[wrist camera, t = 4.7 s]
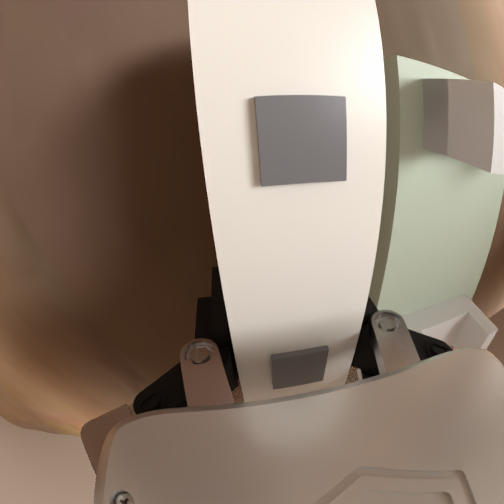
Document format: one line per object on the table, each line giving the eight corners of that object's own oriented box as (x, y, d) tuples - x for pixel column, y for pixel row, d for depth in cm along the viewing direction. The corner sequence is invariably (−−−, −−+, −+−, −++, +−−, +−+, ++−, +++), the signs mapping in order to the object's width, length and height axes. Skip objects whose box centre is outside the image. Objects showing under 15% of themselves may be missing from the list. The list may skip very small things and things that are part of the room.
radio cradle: (495, 96, 12) (559, 112, 6) (450, 320, 22) (483, 362, 17) (381, 58, 11) (468, 47, 5) (353, 352, 21) (382, 413, 16)
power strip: (307, 9, 7) (367, -47, 3) (303, 401, 19) (317, 459, 14) (200, 11, 7) (184, -58, 2) (252, 409, 19) (259, 468, 14)
